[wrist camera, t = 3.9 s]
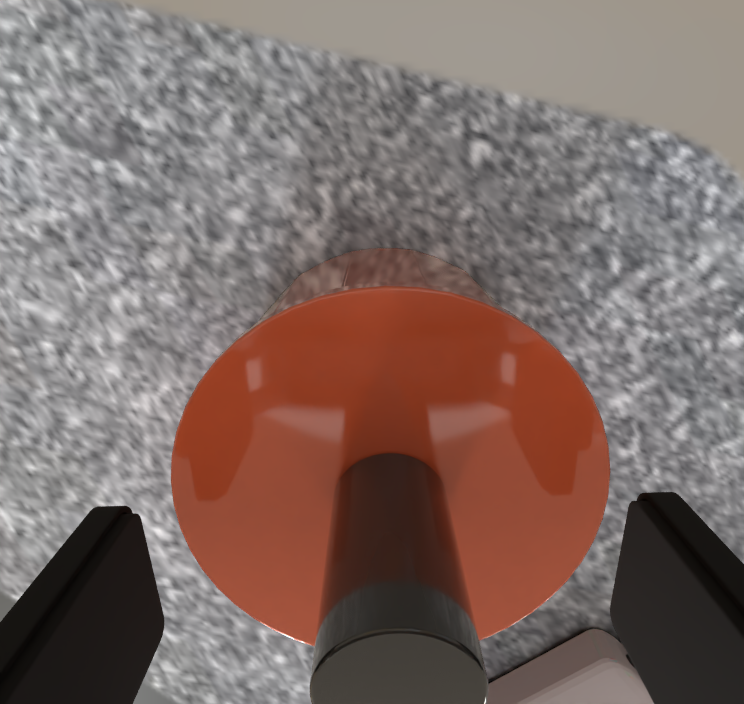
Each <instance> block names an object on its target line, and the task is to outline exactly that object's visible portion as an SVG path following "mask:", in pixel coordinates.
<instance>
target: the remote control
mask: <svg viewBox="0 0 744 704" xmlns="http://www.w3.org/2000/svg"><path fill="white" fill-rule="evenodd" d="M486 704H654V703H653V701H652V699H651V697H650V695H649V693H648V691H647V689H646V687H645V686H644V684H643V682H642V680H641V678H640V676H639V674H638V672H637V670H636V669H635V667H634V665H633V663H632V661H631V659H630V657H629V655H628V653H627V651H626V650H625V648H624V646H623V644H621V643H620V642H619V641H618V640H617V639H616V638H614V637H613V636H612V635H610V634H608V633H607V632H605V631H603V630H599V629H591V630H587V631H585V632H584V633H582V634H580V635H578V636H576V637H574V638H572V639H571V640H569V641H567V642H565V643H563V644H561V645H560V646H558V647H556V648H554V649H552V650H550V651H548V652H547V653H545V654H543V655H541V656H539V657H537V658H536V659H534V660H532V661H530V662H528V663H526V664H524V665H523V666H521V667H519V668H517V669H515V670H513V671H511V672H510V673H508V674H506V675H504V676H502V677H500V678H499V679H497V680H495V681H493V682H491V683H489V684H488V697H487V702H486Z"/></svg>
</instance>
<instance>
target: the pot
mask: <svg viewBox="0 0 744 704" xmlns="http://www.w3.org/2000/svg"><path fill="white" fill-rule="evenodd" d="M375 282H409V283H422V284H428V285H433V286H439V287H445V288H450V289H453V290H457V291H460V292H463V293H466V294H470V295H473V296H476V297H479V298H481V299H484V300H486V301H488V302H490V303H492V304H494V305H497V306H499V307H501V306H500V305H499V304H498V303H497V302H496V301H495V300H494V299H493V298H492V297H491V296H490V295H489V294H488V293H487V292H486V291H485V290H484V289H483V288H482V287H481V286H480V285H479V284H478V283H477V282H476V281H475V280H474V279H473V278H472V277H471V276H470V275H469V274H468V273H467V272H466V271H464V270H463V269H460V268H458V267H455V266H453V265H452V264H449V263H447V262H445V261H443V260H441V259H439V258H437V257H434V256H431V255H427V254H424V253H421V252H417V251H414V250H410V249H400V248H374V249H363V250H358V251H352V252H349V253H345V254H342V255H340V256H337V257H334V258H332V259H329V260H326V261H325V262H323V263H321V264H319V265H317V266H315V267H313V268H312V269H310V270H309V271H307V272H304V273H302V274H301V275H299V276H298V277H297V278H296V279H295V280H294V281H293V283H292V284H291V285H290V286H289V287H288V288H287V289H286V290H285V291H284V292H283V293H282V294H281V296H280V297H279V298H278V299H277V300H276V301H275V303H274V304H273V305H272V306H271V307H270V308H269V309H268V310H267V311H266V312H265V314H264V315H263V316H262V318H261V319H260V320H262V319H263V318H264V317H266V316H268V315H270V314H272V313H273V312H275V311H277V310H279V309H281V308H283V307H285V306H287V305H289V304H290V303H292V302H295V301H298V300H300V299H303V298H306V297H309V296H311V295H314V294H317V293H319V292H322V291H327V290H331V289H336V288H340V287H344V286H349V285H354V284H365V283H375ZM501 308H502V307H501ZM260 320H259V321H260Z"/></svg>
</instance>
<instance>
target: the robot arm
mask: <svg viewBox="0 0 744 704" xmlns="http://www.w3.org/2000/svg"><path fill="white" fill-rule="evenodd" d="M610 615H611V620H612V623H613V626H614V628H615V631H616V632H617V634H618V636H619V638H620V640H621V642H622V644H623V646H624V648H625V650H626V651H627V653H628V655H629V657H630V659H631V661H632V663H633V665H634V667H635V669H636V670H637V672H638V674H639V676H640V678H641V680H642V682H643V684H644V686H645V687H646V689H647V691H648V693H649V695H650V697H651V699H652V701H653V703H654V704H744V564H743V563H742V562H741V561H740V560H739V559H738V558H737V557H736V556H735V555H734V553H733V552H732V551H731V550H730V549H729V548H728V547H727V546H726V545H725V544H724V543H723V542H722V541H721V540H720V538H719V537H718V536H717V535H716V534H715V533H714V532H713V531H712V530H711V529H710V528H709V527H708V526H707V525H706V524H705V522H704V521H703V520H702V519H701V518H700V517H699V516H698V515H697V514H696V513H695V512H694V511H693V510H692V509H691V507H690V506H689V505H688V504H687V503H686V502H685V501H684V500H683V499H682V498H681V497H680V496H679V495H678V494H676V493H673V492H656V493H642V494H640V495H639V496H638V498H637V501H632V502H631V503H630V505H629V508H628V513H627V519H626V524H625V530H624V535H623V540H622V546H621V551H620V557H619V562H618V567H617V573H616V578H615V584H614V589H613V595H612V600H611V605H610ZM163 630H164V615H163V611H162V607H161V603H160V598H159V594H158V590H157V585H156V581H155V577H154V573H153V568H152V564H151V560H150V555H149V551H148V547H147V543H146V538H145V534H144V530H143V526H142V521H141V518H140V516H139V515H138V514H133V513H132V510H131V509H130V508H129V507H127V506H105V507H96V508H93V509H92V510H91V511H90V512H89V513H88V515H87V516H86V517H85V518H84V520H83V521H82V522H81V523H80V525H79V526H78V527H77V528H76V530H75V531H74V532H73V533H72V534H71V536H70V537H69V538H68V539H67V541H66V542H65V543H64V544H63V546H62V547H61V548H60V549H59V550H58V552H57V553H56V554H55V555H54V557H53V558H52V559H51V560H50V562H49V563H48V564H47V565H46V567H45V568H44V569H43V570H42V571H41V573H40V574H39V575H38V576H37V578H36V579H35V580H34V581H33V583H32V584H31V585H30V586H29V587H28V589H27V590H26V591H25V592H24V594H23V595H22V596H21V597H20V599H19V600H18V601H17V602H16V604H15V605H14V606H13V607H12V609H11V610H10V611H9V612H8V614H7V615H6V616H5V617H4V618H3V620H2V621H1V622H0V704H133V701H134V699H135V697H136V695H137V693H138V690H139V688H140V686H141V684H142V681H143V679H144V677H145V675H146V672H147V670H148V668H149V665H150V663H151V661H152V659H153V656H154V654H155V652H156V650H157V647H158V645H159V643H160V641H161V638H162V635H163Z"/></svg>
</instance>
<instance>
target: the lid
mask: <svg viewBox="0 0 744 704" xmlns="http://www.w3.org/2000/svg"><path fill="white" fill-rule="evenodd" d="M609 480H610V461H609V447H608V442H607V438H606V433H605V429H604V425H603V421H602V418H601V416H600V413H599V411H598V409H597V406H596V404H595V401H594V399H593V397H592V395H591V393H590V392H589V390H588V388H587V387H586V385H585V383H584V382H583V380H582V379H581V377H580V375H579V374H578V372H577V371H576V370H575V369H574V368H573V366H572V365H571V364H570V363H569V362H568V361H567V359H566V358H565V357H564V356H563V355H562V353H561V352H560V351H559V350H558V349H557V348H556V347H555V346H554V345H553V344H552V343H550V342H549V341H548V340H547V339H546V338H545V337H543V336H542V335H541V334H540V333H539V332H538V331H537V330H535V329H534V328H533V327H532V326H530V325H529V324H527V323H526V322H524V321H523V320H521V319H520V318H518V317H517V316H515V315H513V314H512V313H510V312H509V311H507V310H505V309H503V308H501V307H499V306H497V305H494V304H492V303H490V302H488V301H486V300H484V299H481V298H479V297H476V296H473V295H470V294H466V293H463V292H460V291H457V290H453V289H450V288H445V287H439V286H433V285H428V284H422V283H409V282H375V283H365V284H354V285H349V286H344V287H340V288H336V289H331V290H327V291H322V292H319V293H317V294H314V295H311V296H309V297H306V298H303V299H300V300H298V301H295V302H292V303H290V304H289V305H287V306H285V307H283V308H281V309H279V310H277V311H275V312H273V313H272V314H270V315H268V316H266V317H264V318H263V319H262V320H260V321H259V322H257V323H256V324H255V325H253V326H252V327H250V328H249V329H248V330H246V331H245V332H244V333H242V334H241V335H240V336H239V337H238V338H237V339H236V340H235V341H234V342H233V343H232V344H231V345H230V346H229V347H227V348H226V349H225V350H224V351H223V352H222V353H221V354H220V356H219V357H218V358H217V359H216V360H215V362H214V363H213V364H212V366H211V367H210V368H209V370H208V371H207V372H206V373H205V375H204V376H203V377H202V379H201V380H200V381H199V383H198V384H197V386H196V388H195V390H194V392H193V393H192V395H191V397H190V399H189V401H188V402H187V404H186V406H185V409H184V412H183V414H182V417H181V420H180V423H179V425H178V428H177V431H176V436H175V441H174V446H173V452H172V463H171V485H172V493H173V501H174V507H175V511H176V514H177V518H178V521H179V525H180V528H181V531H182V533H183V535H184V537H185V540H186V542H187V544H188V546H189V549H190V550H191V552H192V554H193V555H194V557H195V558H196V560H197V562H198V563H199V565H200V566H201V568H202V570H203V571H204V572H205V573H206V574H207V576H208V577H209V578H210V579H211V581H212V582H213V583H214V584H215V585H216V587H217V588H218V589H219V590H220V591H221V592H222V593H223V594H225V595H226V596H227V597H228V598H229V599H230V600H231V601H232V602H233V603H234V604H235V605H237V606H238V607H239V608H241V609H242V610H243V611H245V612H246V613H247V614H249V615H250V616H251V617H253V618H254V619H256V620H257V621H259V622H261V623H263V624H264V625H266V626H268V627H269V628H271V629H273V630H274V631H277V632H279V633H281V634H283V635H286V636H288V637H290V638H292V639H294V640H297V641H300V642H303V643H306V644H309V645H312V646H315V647H314V655H313V664H312V672H311V680H310V697H311V702H312V704H486V702H487V697H488V679H487V674H486V670H485V665H484V661H483V656H482V652H481V647H480V643H479V641H480V640H482V639H485V638H488V637H490V636H492V635H494V634H496V633H498V632H500V631H502V630H504V629H506V628H508V627H510V626H512V625H513V624H515V623H517V622H518V621H520V620H521V619H523V618H525V617H526V616H528V615H529V614H531V613H532V612H533V611H535V610H536V609H537V608H538V607H540V606H541V605H542V604H543V603H545V602H546V601H547V600H548V599H550V598H551V597H552V596H553V595H554V594H555V593H556V592H557V591H558V590H559V589H560V588H561V587H562V586H563V585H564V584H565V583H566V582H567V580H568V579H569V578H570V576H571V575H572V574H573V573H574V571H575V570H576V569H577V567H578V566H579V565H580V563H581V562H582V560H583V559H584V557H585V555H586V554H587V552H588V550H589V548H590V547H591V545H592V543H593V541H594V539H595V536H596V534H597V531H598V529H599V527H600V524H601V522H602V519H603V515H604V511H605V507H606V503H607V498H608V492H609Z"/></svg>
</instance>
